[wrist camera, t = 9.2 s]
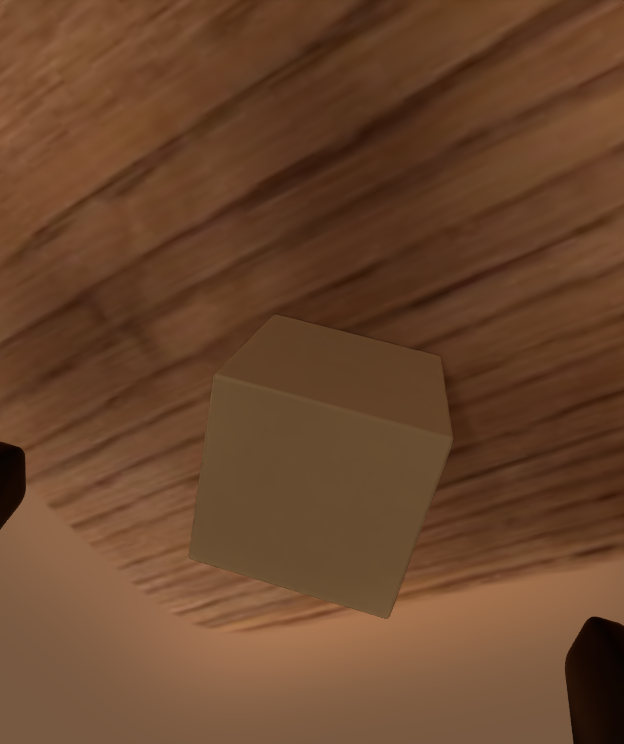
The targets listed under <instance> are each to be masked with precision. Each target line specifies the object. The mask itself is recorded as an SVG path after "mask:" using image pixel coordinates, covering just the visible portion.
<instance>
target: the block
mask: <svg viewBox="0 0 624 744" xmlns="http://www.w3.org/2000/svg"><path fill="white" fill-rule="evenodd" d="M453 441H454V440H453V433H452V426H451V420H450V413H449V407H448V401H447V394H446V388H445V381H444V375H443V368H442V362H441V357H440V356H438V355H434V354H430V353H426V352H422V351H418V350H415V349H411V348H407V347H403V346H399V345H395V344H391V343H387V342H383V341H379V340H375V339H371V338H367V337H363V336H360V335H356V334H352V333H348V332H344V331H340V330H336V329H332V328H328V327H324V326H320V325H316V324H312V323H308V322H304V321H301V320H297V319H293V318H289V317H285V316H281V315H277V314H275V315H273V316H272V317H271V318H270V319H269V320H268V321H267V322H266V323H265V324H264V325H263V326H262V327H261V328H260V329H259V330H258V331H257V332H256V333H255V334H254V335H253V336H252V337H251V338H250V339H249V340H248V341H247V342H246V343H245V344H244V345H243V346H242V347H241V348H240V349H239V350H238V351H237V352H236V353H235V354H234V355H233V356H232V357H231V358H230V359H229V360H228V361H227V362H226V363H225V364H224V365H223V366H222V367H221V368H220V369H219V370H218V371H217V372H216V373H215V374H214V376H213V382H212V389H211V396H210V404H209V411H208V418H207V425H206V432H205V440H204V447H203V454H202V461H201V469H200V476H199V483H198V490H197V497H196V505H195V512H194V519H193V526H192V534H191V541H190V548H189V558H190V559H192V560H195V561H198V562H202V563H205V564H208V565H212V566H215V567H218V568H221V569H225V570H228V571H231V572H234V573H238V574H241V575H244V576H247V577H251V578H254V579H257V580H261V581H264V582H267V583H270V584H274V585H277V586H280V587H283V588H287V589H290V590H293V591H296V592H300V593H303V594H306V595H310V596H313V597H316V598H319V599H323V600H326V601H329V602H332V603H336V604H339V605H342V606H345V607H349V608H352V609H355V610H359V611H362V612H365V613H368V614H372V615H375V616H378V617H381V618H385V619H387V618H389V616H390V614H391V612H392V609H393V606H394V603H395V601H396V598H397V595H398V592H399V590H400V587H401V584H402V581H403V579H404V576H405V573H406V570H407V568H408V565H409V562H410V559H411V557H412V554H413V551H414V549H415V546H416V543H417V540H418V538H419V535H420V532H421V529H422V527H423V524H424V521H425V518H426V516H427V513H428V510H429V507H430V505H431V502H432V499H433V496H434V494H435V491H436V488H437V485H438V483H439V480H440V477H441V474H442V472H443V469H444V466H445V463H446V461H447V458H448V455H449V452H450V450H451V447H452V444H453Z"/></svg>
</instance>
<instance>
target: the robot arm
mask: <svg viewBox="0 0 624 744" xmlns="http://www.w3.org/2000/svg"><path fill="white" fill-rule="evenodd" d="M25 491H26V473H25V453H24V451H23V450H22V449H21V448H20V447H17V446H14V445H10V444H7V443H4V442H0V529H1V528H2V527H3V525H4V524H5V523H6V521H7V520H8V519H9V518H10V516H11V515H12V514H13V512H14V511H15V510H16V509H17V508H18V506H19V505H20V503H21V502H22V500H23V498H24V495H25ZM565 675H566V683H567V691H568V700H569V708H570V717H571V725H572V734H573V743H574V744H624V626H623V625H621V624H620V623H617V622H613V621H610V620H607V619H603V618H600V617H591V618H589V619H588V620H587V621H586V622H585V624H584V625H583V627H582V629H581V631H580V632H579V634H578V636H577V638H576V639H575V641H574V643H573V644H572V647H571V648H570V650H569V651H568V654H567V657H566V662H565Z"/></svg>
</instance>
